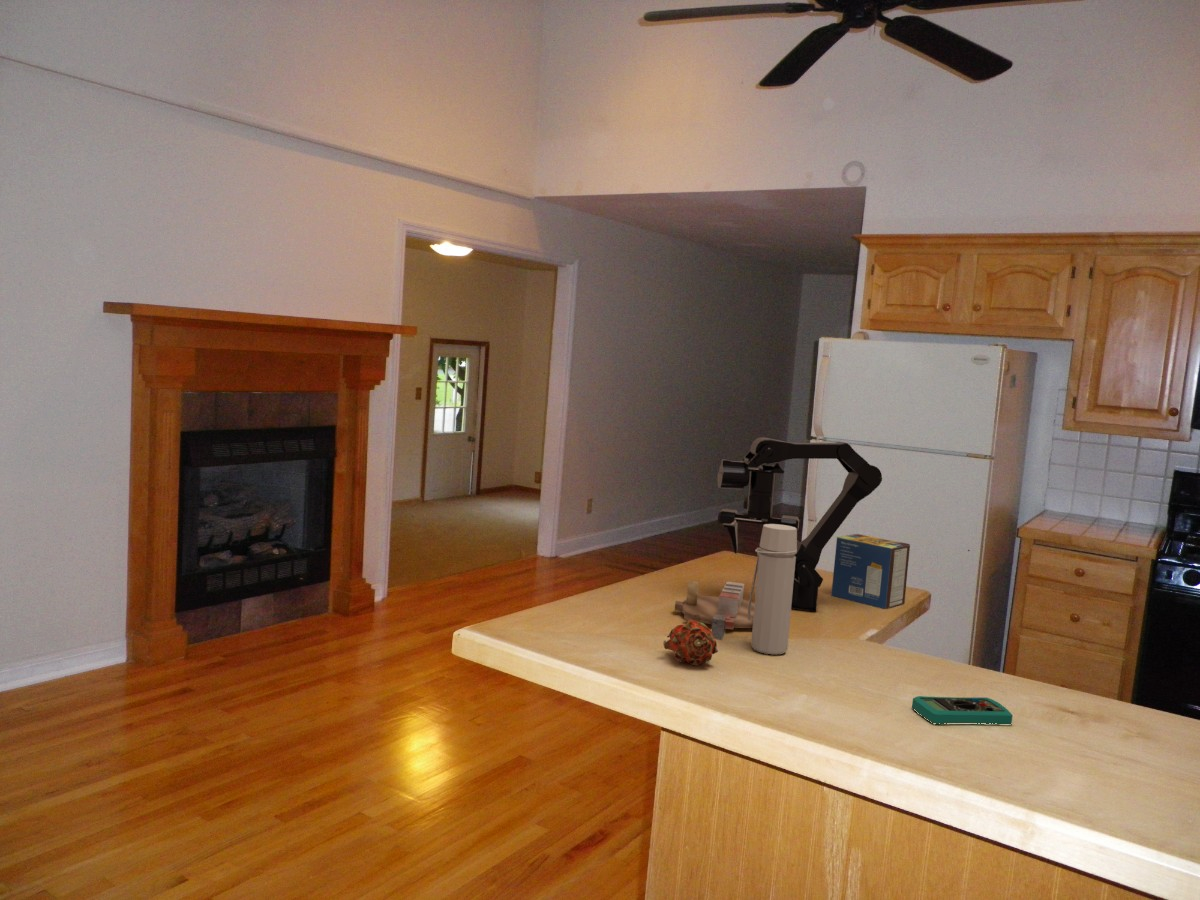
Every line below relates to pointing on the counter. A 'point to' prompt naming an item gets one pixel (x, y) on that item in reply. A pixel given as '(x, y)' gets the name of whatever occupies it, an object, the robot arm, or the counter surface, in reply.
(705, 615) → the flat round disc
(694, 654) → the dragon fruit
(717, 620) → the pointer
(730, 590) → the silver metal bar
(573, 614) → the counter surface
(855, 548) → the protein box
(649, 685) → the counter surface
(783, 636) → the water bottle
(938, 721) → the digital multimeter
